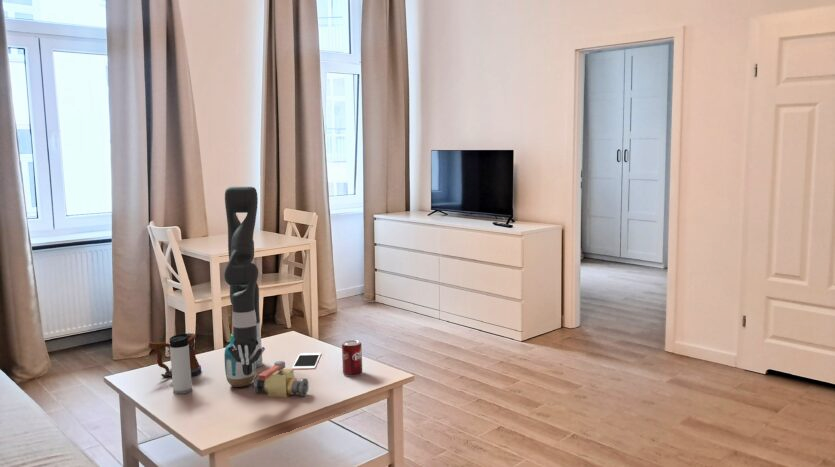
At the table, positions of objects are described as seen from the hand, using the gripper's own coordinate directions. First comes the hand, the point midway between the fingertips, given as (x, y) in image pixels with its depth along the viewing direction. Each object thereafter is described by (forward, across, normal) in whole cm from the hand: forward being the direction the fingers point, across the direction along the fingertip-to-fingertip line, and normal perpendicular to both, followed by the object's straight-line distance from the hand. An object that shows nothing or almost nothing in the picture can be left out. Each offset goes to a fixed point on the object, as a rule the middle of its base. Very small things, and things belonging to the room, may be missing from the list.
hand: (247, 374), depth 219 cm
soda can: (+10, +23, +35) cm, 43 cm away
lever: (+1, +6, +6) cm, 8 cm away
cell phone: (+11, 0, +44) cm, 46 cm away
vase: (+10, -12, +15) cm, 22 cm away
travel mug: (+10, -30, +6) cm, 33 cm away
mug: (+10, -42, +19) cm, 48 cm away
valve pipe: (+10, +6, +11) cm, 16 cm away
